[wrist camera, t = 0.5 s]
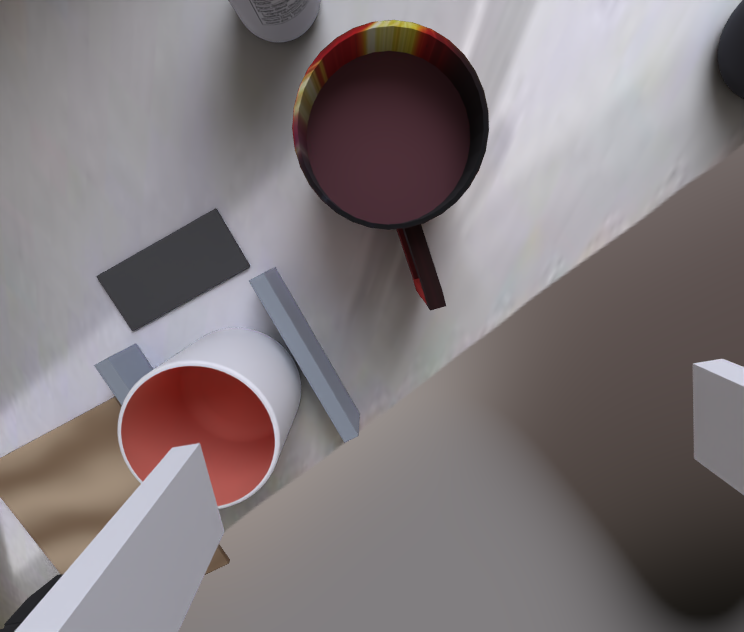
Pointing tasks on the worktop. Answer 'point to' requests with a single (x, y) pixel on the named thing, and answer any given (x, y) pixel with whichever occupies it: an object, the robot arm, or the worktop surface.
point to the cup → (215, 410)
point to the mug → (392, 133)
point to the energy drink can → (277, 17)
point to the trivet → (72, 485)
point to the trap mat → (174, 270)
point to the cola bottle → (733, 51)
